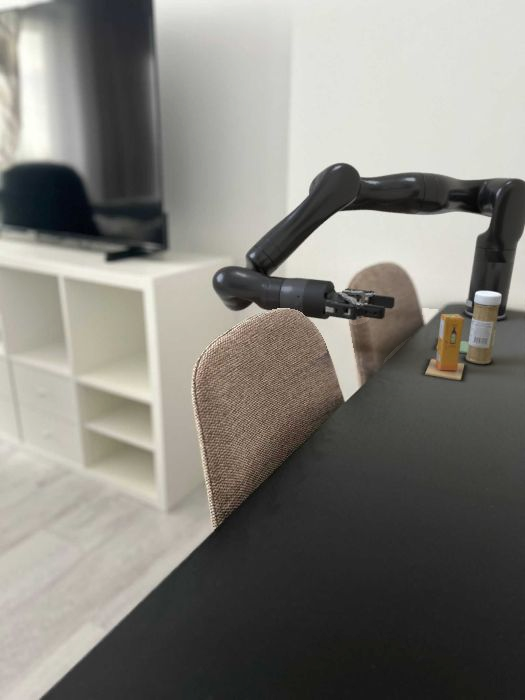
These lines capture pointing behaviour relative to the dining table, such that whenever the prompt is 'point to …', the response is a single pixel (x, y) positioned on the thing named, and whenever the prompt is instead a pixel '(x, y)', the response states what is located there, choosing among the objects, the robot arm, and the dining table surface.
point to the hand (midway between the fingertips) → (389, 307)
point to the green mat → (462, 347)
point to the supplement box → (449, 342)
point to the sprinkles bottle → (483, 326)
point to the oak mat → (444, 371)
